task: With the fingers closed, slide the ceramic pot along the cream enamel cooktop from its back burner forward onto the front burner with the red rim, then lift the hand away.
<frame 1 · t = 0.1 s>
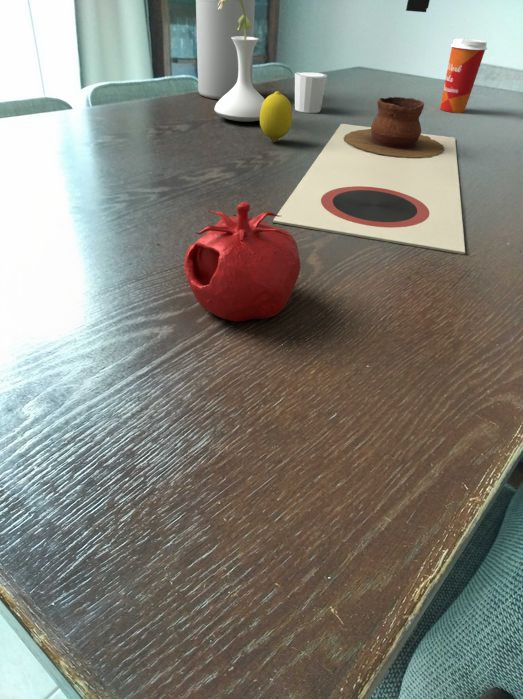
hand: (417, 9, 73), 20 cm above the table, tool pointing down, fingers open, 13 cm apart
front burner: (374, 207, 64), resting on cooktop
cylinder vase: (225, 96, 116), on the table
red tomato: (241, 302, 45), on the table
ceramic pot: (392, 144, 89), resting on cooktop
shot glass: (307, 110, 108), on the table
lemon: (274, 142, 87), on the table
paper cup: (451, 111, 116), on the table
cooktop: (384, 171, 77), on the table
flower in vase: (241, 121, 98), on the table
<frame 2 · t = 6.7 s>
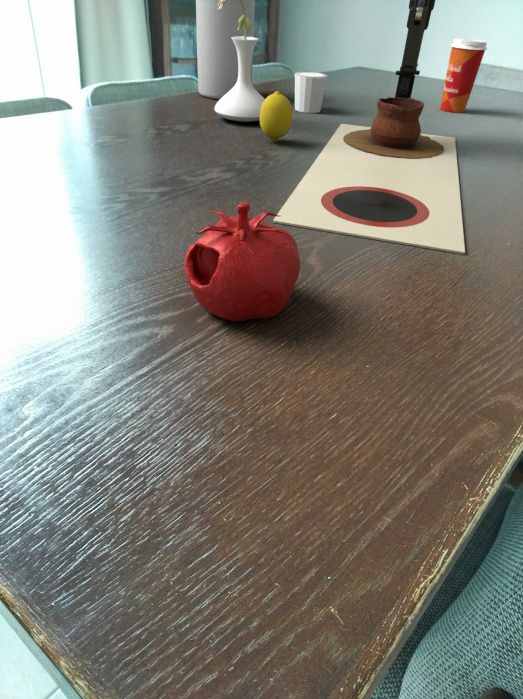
hand: (399, 115, 90), 4 cm above the table, tool pointing down, fingers closed
ceramic pot: (392, 144, 89), resting on cooktop, touching gripper
everything else where it was.
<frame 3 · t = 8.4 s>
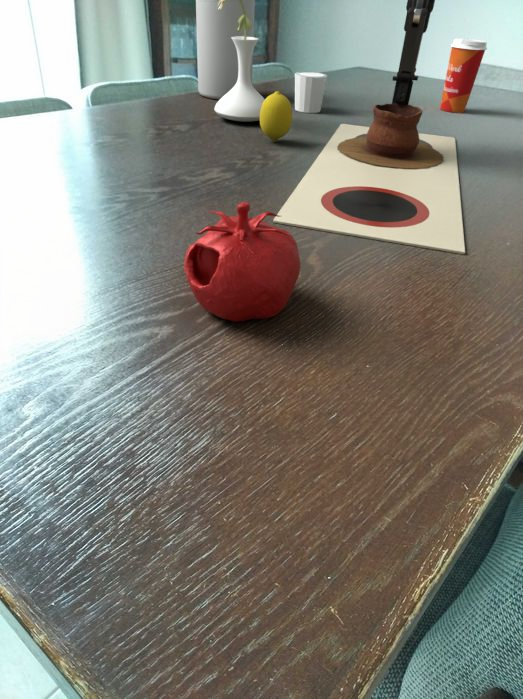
hand: (396, 123, 85), 4 cm above the table, tool pointing down, fingers closed
ceramic pot: (389, 153, 84), resting on cooktop, touching gripper
everything else where it was.
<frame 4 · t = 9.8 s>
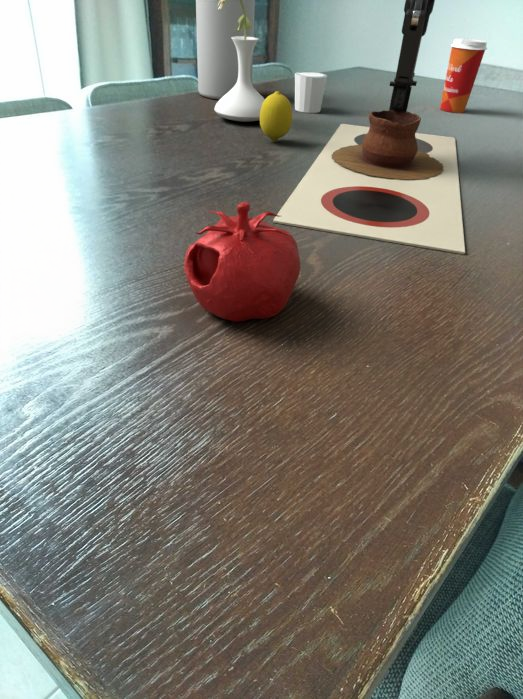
hand: (393, 130, 81), 4 cm above the table, tool pointing down, fingers closed
ceramic pot: (386, 162, 80), resting on cooktop
everything else where it was.
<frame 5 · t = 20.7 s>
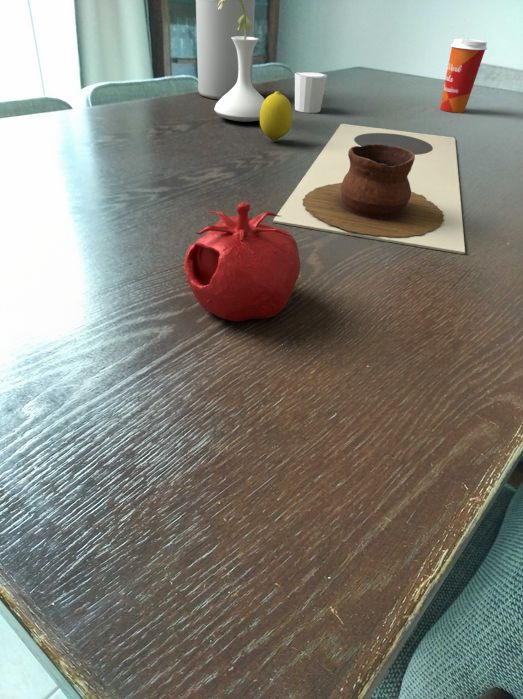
ceramic pot: (371, 209, 63), resting on cooktop, touching front burner
everything else where it was.
at the end: ceramic pot inside the target area on the front burner (1.2 cm from its centre), point 0.1 cm above the front burner's base; ceramic pot tilted 0° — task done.
